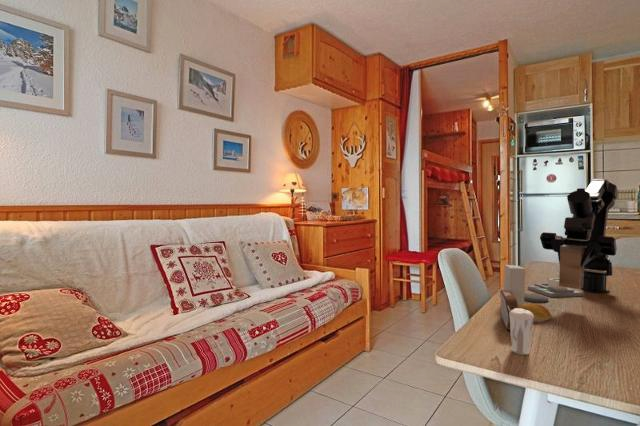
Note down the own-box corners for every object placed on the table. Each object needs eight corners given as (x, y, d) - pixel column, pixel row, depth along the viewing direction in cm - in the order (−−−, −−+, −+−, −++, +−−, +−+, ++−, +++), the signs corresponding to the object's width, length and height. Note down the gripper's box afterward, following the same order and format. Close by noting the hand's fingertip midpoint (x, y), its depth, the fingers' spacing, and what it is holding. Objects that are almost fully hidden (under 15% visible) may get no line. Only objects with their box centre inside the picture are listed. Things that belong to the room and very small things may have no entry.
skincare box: (524, 308, 109) (525, 268, 109) (509, 307, 110) (510, 268, 110) (517, 303, 115) (519, 265, 115) (503, 302, 116) (504, 264, 115)
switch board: (557, 288, 135) (557, 282, 135) (582, 296, 124) (582, 290, 124) (527, 289, 133) (527, 283, 133) (550, 297, 123) (550, 291, 123)
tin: (520, 336, 87) (521, 301, 87) (505, 334, 88) (506, 299, 88) (510, 317, 101) (511, 287, 101) (498, 315, 102) (499, 285, 102)
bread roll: (555, 319, 101) (555, 304, 100) (539, 325, 96) (539, 310, 95) (524, 311, 107) (524, 297, 107) (507, 316, 102) (508, 302, 102)
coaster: (534, 295, 125) (534, 293, 125) (555, 302, 116) (555, 300, 116) (510, 295, 124) (510, 294, 124) (529, 303, 115) (529, 301, 115)
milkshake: (500, 348, 80) (501, 302, 79) (523, 347, 80) (525, 302, 80) (512, 357, 75) (514, 309, 75) (537, 356, 76) (539, 308, 75)
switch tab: (557, 288, 130) (558, 276, 130) (567, 290, 126) (567, 279, 126) (547, 288, 129) (548, 277, 129) (556, 291, 125) (556, 279, 125)
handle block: (563, 283, 113) (564, 244, 113) (583, 286, 109) (585, 246, 109) (558, 286, 110) (560, 246, 109) (579, 289, 106) (580, 247, 105)
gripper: (542, 207, 118) (529, 244, 111) (616, 208, 104) (607, 251, 97) (549, 230, 124) (537, 266, 117) (620, 234, 110) (611, 276, 103)
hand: (570, 264), depth 108 cm, fingers closed on handle block, 5 cm apart
